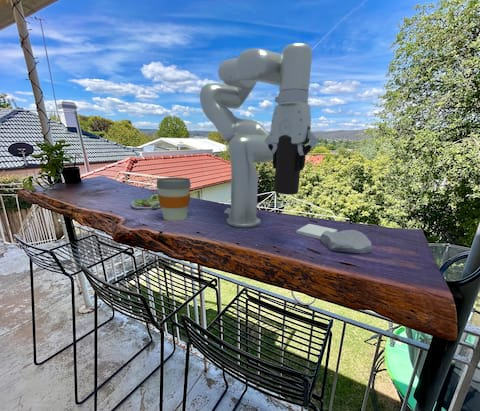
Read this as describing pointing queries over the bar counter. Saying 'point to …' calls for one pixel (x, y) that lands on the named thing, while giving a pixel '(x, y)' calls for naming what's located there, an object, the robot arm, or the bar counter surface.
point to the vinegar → (286, 167)
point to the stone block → (346, 241)
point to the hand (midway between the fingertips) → (287, 168)
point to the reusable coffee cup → (174, 197)
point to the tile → (314, 230)
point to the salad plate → (147, 203)
